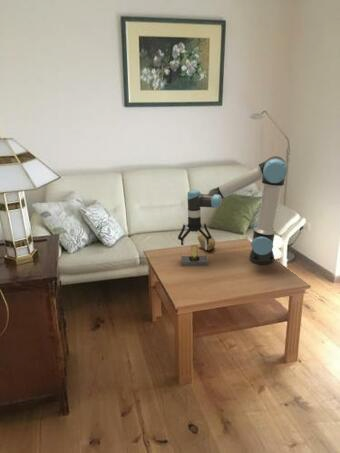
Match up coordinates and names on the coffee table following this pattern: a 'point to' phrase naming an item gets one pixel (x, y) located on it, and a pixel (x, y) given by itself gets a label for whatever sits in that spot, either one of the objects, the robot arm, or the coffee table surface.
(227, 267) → the coffee table surface
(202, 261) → the metal plate with hole
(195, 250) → the gold peg
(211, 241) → the faceted tan rock
